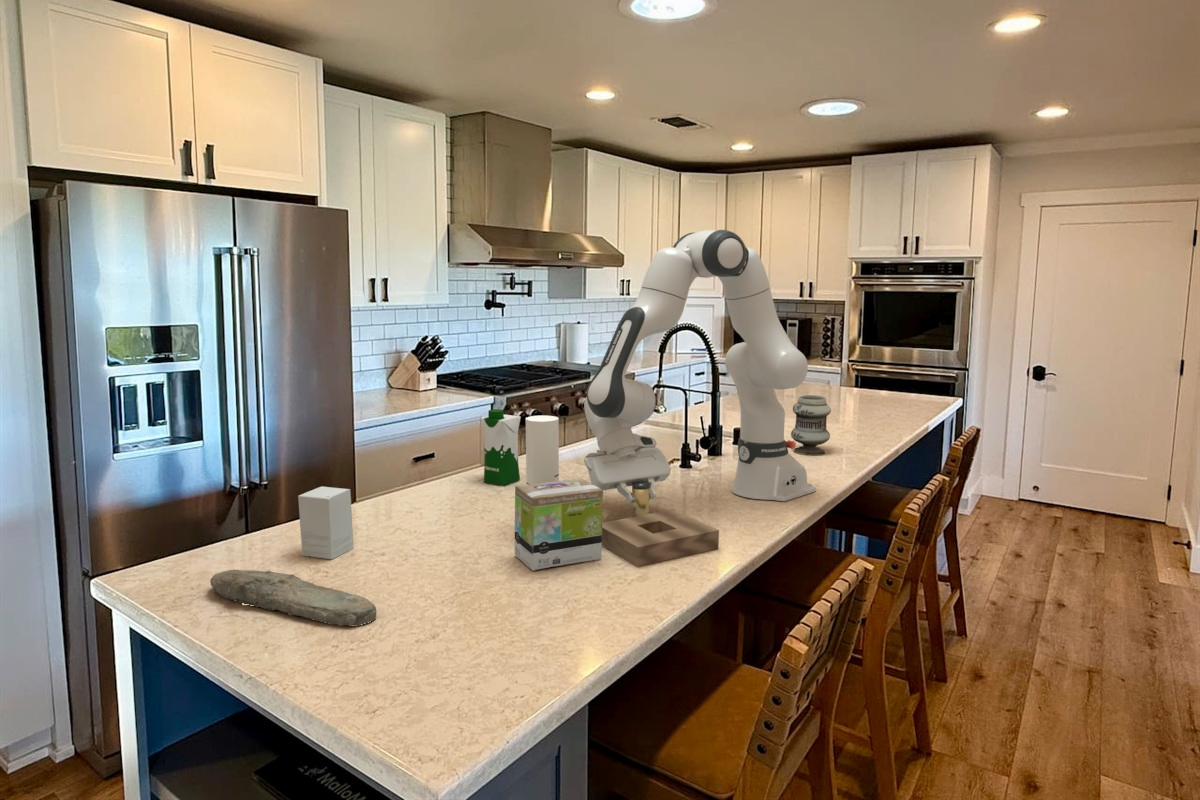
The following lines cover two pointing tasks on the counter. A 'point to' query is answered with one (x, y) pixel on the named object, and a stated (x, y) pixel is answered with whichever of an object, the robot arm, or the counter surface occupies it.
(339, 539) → the supplement box
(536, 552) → the tea box
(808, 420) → the apothecary jar
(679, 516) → the socket block
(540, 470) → the cylindrical container
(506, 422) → the milk carton
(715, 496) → the counter surface
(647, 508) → the spice jar
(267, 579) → the elongated rock
